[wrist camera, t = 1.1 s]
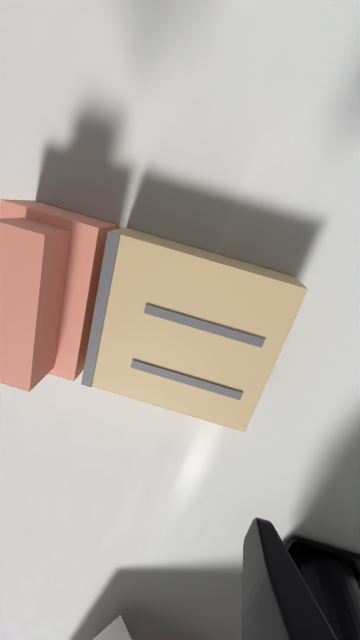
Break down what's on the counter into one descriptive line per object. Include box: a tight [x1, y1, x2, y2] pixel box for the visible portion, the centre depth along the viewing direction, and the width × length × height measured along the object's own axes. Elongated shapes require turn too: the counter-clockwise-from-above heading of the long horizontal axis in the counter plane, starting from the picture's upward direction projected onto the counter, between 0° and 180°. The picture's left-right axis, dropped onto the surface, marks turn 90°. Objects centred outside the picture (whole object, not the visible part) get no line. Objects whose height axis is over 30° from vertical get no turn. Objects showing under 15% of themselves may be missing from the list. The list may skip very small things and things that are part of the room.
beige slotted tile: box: [81, 227, 308, 432], centre depth 18 cm, size 10×9×3 cm
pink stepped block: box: [0, 200, 118, 391], centre depth 17 cm, size 5×9×6 cm, turn 165°
